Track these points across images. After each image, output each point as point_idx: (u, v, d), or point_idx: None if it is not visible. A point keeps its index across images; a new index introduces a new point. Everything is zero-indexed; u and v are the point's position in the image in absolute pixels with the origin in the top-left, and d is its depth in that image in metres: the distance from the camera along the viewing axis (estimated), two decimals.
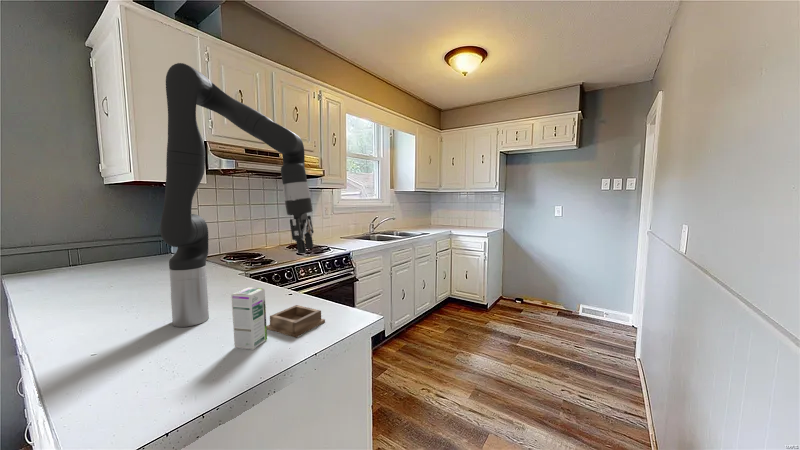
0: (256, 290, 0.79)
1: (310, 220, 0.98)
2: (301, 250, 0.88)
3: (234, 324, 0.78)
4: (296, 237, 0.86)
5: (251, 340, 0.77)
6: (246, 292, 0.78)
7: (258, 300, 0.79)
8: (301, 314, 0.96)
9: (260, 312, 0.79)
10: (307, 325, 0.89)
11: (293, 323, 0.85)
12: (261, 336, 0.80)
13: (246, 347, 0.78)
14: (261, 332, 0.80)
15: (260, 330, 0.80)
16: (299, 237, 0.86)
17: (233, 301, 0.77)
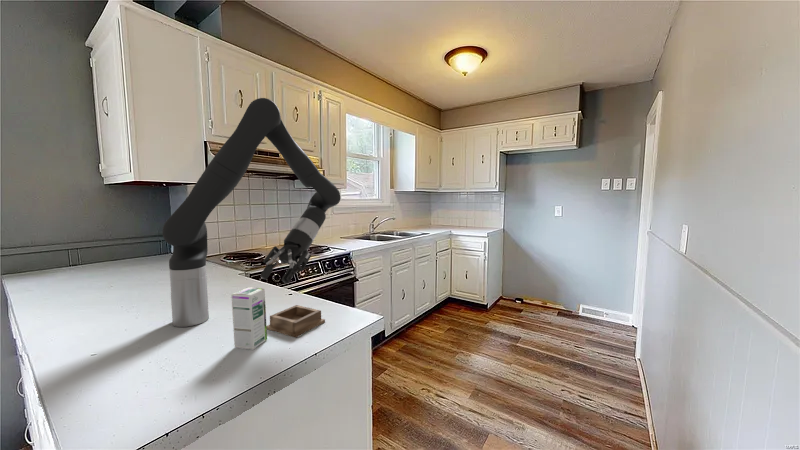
0: (256, 290, 0.79)
1: None
2: (288, 279, 0.84)
3: (234, 324, 0.78)
4: (300, 267, 0.86)
5: (250, 340, 0.77)
6: (246, 292, 0.78)
7: (258, 300, 0.79)
8: (301, 314, 0.96)
9: (260, 312, 0.79)
10: (307, 325, 0.89)
11: (293, 323, 0.85)
12: (261, 336, 0.80)
13: (246, 347, 0.78)
14: (261, 332, 0.80)
15: (260, 330, 0.80)
16: (302, 269, 0.86)
17: (233, 301, 0.77)
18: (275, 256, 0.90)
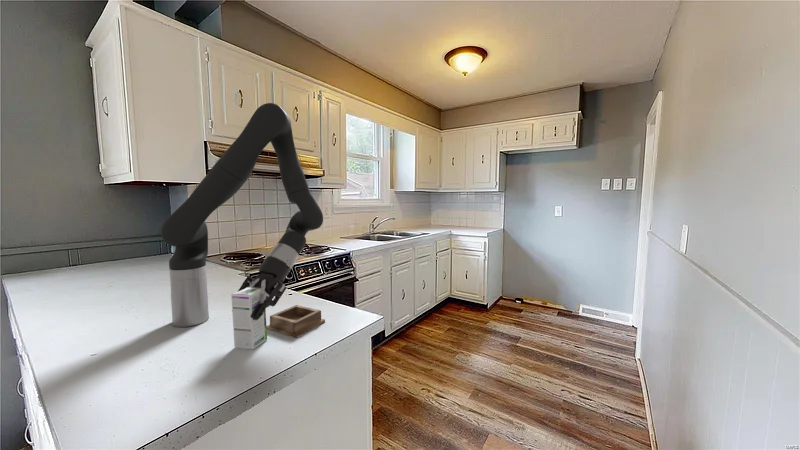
0: (256, 290, 0.79)
1: None
2: (258, 316, 0.77)
3: (234, 324, 0.78)
4: (272, 302, 0.78)
5: (250, 340, 0.77)
6: (246, 292, 0.78)
7: (257, 300, 0.79)
8: (301, 314, 0.96)
9: None
10: (307, 325, 0.89)
11: (293, 323, 0.85)
12: (261, 336, 0.80)
13: (246, 347, 0.78)
14: (260, 332, 0.80)
15: (259, 330, 0.80)
16: (274, 304, 0.79)
17: (233, 301, 0.77)
18: None
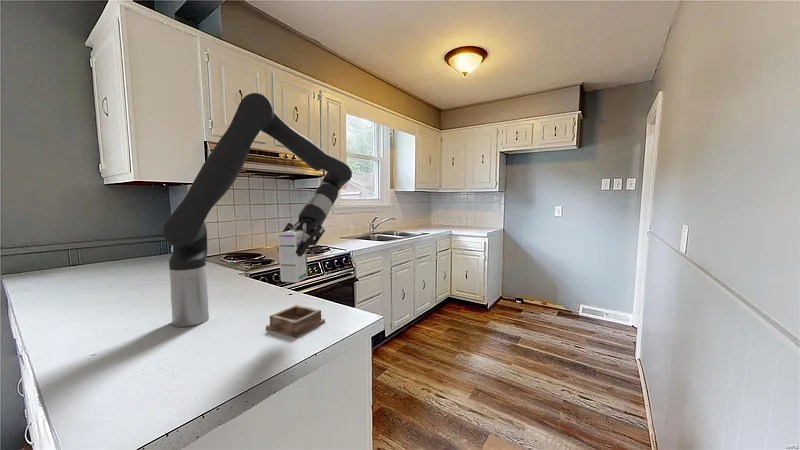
0: (299, 231, 0.89)
1: None
2: (302, 252, 0.87)
3: (280, 260, 0.87)
4: (313, 241, 0.88)
5: (295, 274, 0.87)
6: (291, 232, 0.87)
7: (300, 239, 0.88)
8: (301, 314, 0.96)
9: None
10: (307, 325, 0.89)
11: (293, 323, 0.85)
12: (303, 273, 0.90)
13: (291, 280, 0.87)
14: (303, 269, 0.90)
15: (302, 266, 0.89)
16: (315, 243, 0.88)
17: (279, 239, 0.87)
18: None
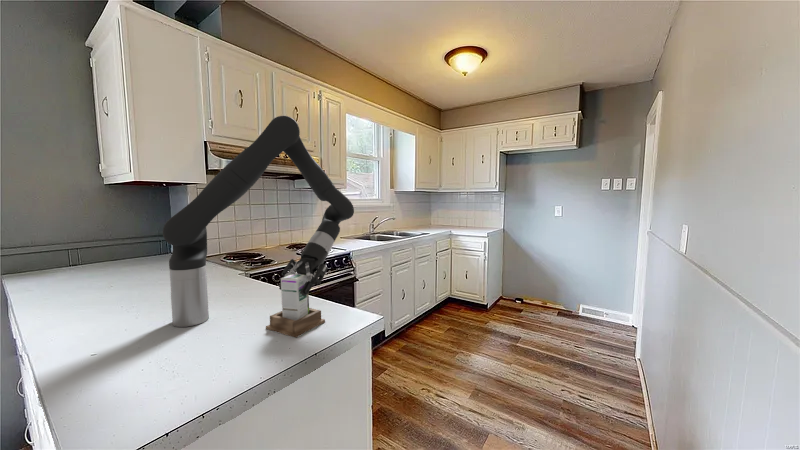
0: (301, 276, 0.91)
1: None
2: (307, 292, 0.88)
3: (283, 304, 0.90)
4: (318, 280, 0.90)
5: (297, 319, 0.89)
6: (293, 277, 0.89)
7: (302, 284, 0.90)
8: None
9: None
10: (307, 325, 0.89)
11: (293, 323, 0.85)
12: None
13: None
14: (305, 312, 0.92)
15: (304, 310, 0.91)
16: (319, 282, 0.90)
17: (282, 284, 0.89)
18: (293, 269, 0.94)
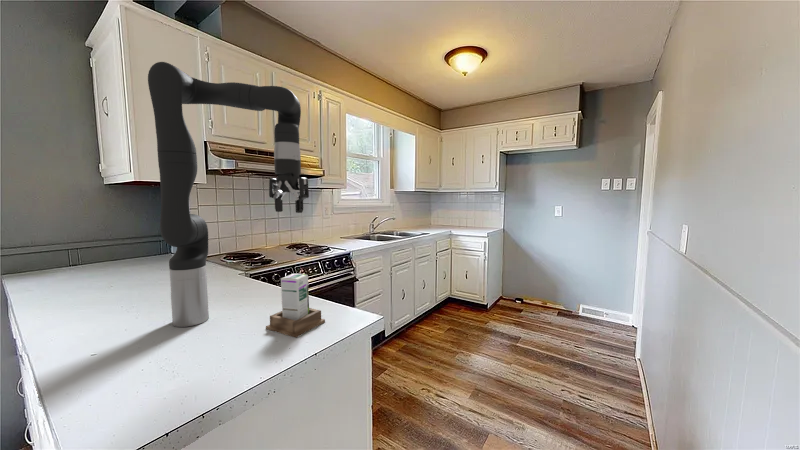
0: (301, 276, 0.91)
1: None
2: (301, 209, 0.91)
3: (283, 304, 0.90)
4: (305, 195, 0.90)
5: (297, 319, 0.89)
6: (293, 277, 0.89)
7: (303, 284, 0.90)
8: None
9: (304, 294, 0.91)
10: (307, 325, 0.89)
11: (293, 323, 0.85)
12: None
13: None
14: (305, 312, 0.92)
15: (304, 310, 0.91)
16: (307, 196, 0.91)
17: (282, 284, 0.89)
18: (277, 190, 0.93)
